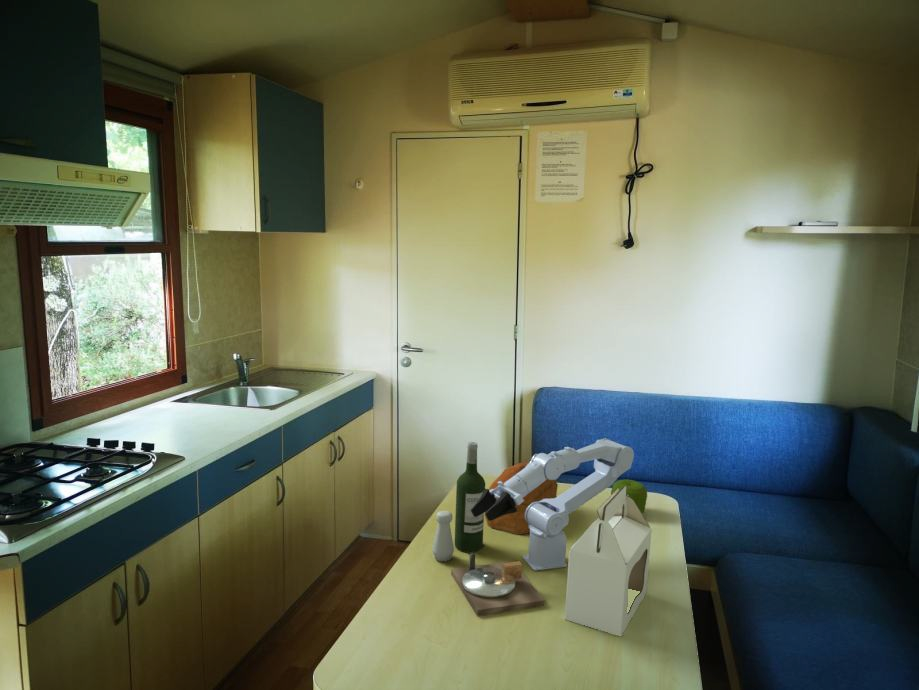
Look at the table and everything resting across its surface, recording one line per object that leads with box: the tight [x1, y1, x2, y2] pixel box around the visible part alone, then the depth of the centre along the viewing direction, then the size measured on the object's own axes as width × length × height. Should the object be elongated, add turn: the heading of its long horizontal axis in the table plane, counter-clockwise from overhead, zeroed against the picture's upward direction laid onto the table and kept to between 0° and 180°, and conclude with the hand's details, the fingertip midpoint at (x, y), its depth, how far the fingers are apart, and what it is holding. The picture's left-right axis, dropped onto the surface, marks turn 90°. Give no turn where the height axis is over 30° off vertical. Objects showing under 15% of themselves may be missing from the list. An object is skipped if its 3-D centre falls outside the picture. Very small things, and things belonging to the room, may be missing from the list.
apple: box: [610, 479, 648, 517], centre depth 222 cm, size 11×11×11 cm
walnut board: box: [450, 552, 546, 617], centre depth 172 cm, size 17×20×6 cm
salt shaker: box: [432, 510, 455, 562], centre depth 187 cm, size 6×6×13 cm
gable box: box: [564, 486, 653, 635], centre depth 164 cm, size 22×13×28 cm, turn 151°
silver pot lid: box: [462, 560, 523, 598], centre depth 172 cm, size 15×13×5 cm
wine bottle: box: [454, 441, 486, 553], centre depth 193 cm, size 8×8×30 cm
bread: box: [484, 462, 559, 535], centre depth 216 cm, size 16×27×16 cm, turn 153°
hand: (479, 515), depth 173 cm, fingers open, 7 cm apart
